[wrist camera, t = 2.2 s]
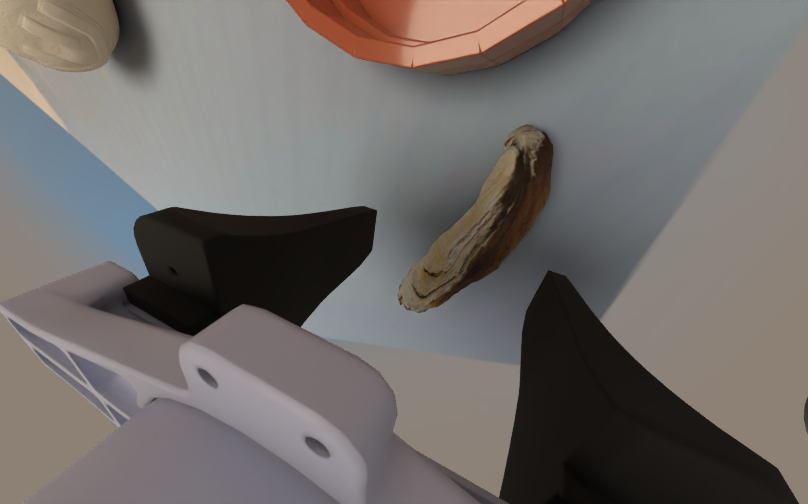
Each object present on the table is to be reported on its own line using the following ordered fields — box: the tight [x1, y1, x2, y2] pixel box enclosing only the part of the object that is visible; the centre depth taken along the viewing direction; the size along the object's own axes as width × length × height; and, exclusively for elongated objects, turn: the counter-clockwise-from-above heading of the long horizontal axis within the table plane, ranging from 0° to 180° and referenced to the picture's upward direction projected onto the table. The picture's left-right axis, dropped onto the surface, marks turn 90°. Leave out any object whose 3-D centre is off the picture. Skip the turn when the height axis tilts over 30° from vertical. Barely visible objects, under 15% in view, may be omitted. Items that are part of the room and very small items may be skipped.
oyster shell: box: [398, 125, 553, 313], centre depth 14 cm, size 6×4×10 cm
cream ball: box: [0, 0, 119, 72], centre depth 16 cm, size 7×7×7 cm
